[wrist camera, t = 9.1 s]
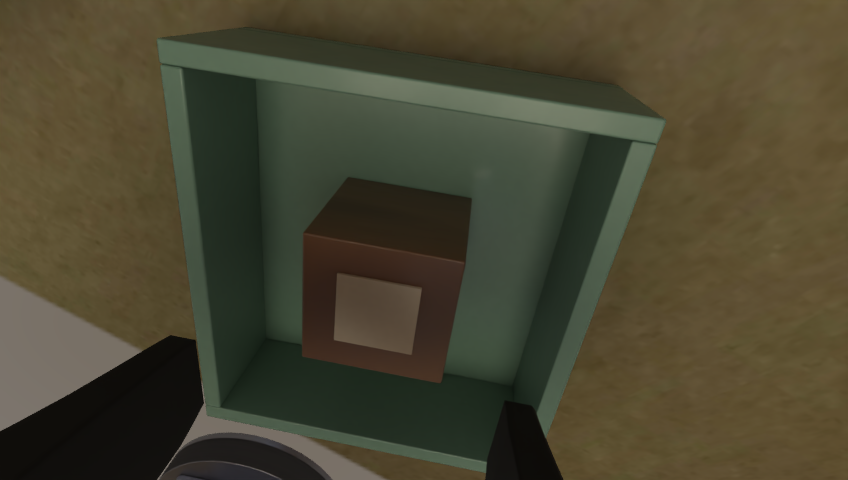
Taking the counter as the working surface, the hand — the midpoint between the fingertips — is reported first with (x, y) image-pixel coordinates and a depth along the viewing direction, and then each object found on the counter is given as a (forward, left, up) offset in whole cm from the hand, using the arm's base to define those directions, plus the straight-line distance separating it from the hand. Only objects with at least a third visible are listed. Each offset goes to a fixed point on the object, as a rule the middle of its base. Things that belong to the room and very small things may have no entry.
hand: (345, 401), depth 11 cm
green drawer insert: (0, 0, -8) cm, 8 cm away
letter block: (0, 0, -8) cm, 8 cm away
